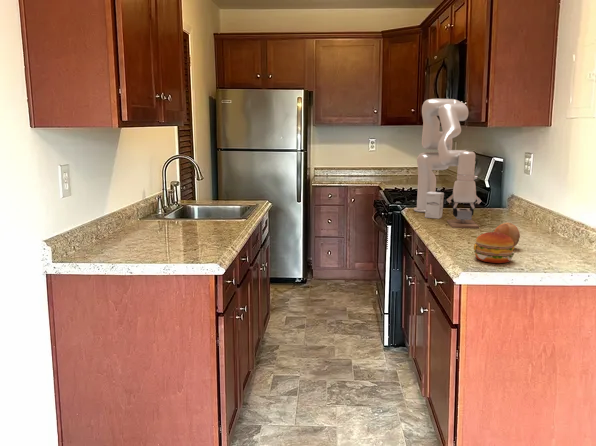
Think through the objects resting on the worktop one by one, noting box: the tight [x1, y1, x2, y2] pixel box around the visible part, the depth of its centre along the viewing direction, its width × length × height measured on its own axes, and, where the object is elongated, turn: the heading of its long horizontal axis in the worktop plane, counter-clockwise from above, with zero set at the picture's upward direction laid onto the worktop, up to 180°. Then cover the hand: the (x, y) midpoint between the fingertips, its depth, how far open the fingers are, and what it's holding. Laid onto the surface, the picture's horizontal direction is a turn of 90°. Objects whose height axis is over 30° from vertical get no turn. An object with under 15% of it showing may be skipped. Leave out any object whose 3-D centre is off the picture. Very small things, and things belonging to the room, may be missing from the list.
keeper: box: [446, 218, 480, 229], centre depth 258 cm, size 16×12×6 cm
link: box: [454, 207, 473, 220], centre depth 257 cm, size 8×6×4 cm
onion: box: [493, 222, 521, 247], centre depth 210 cm, size 10×10×10 cm
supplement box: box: [424, 191, 445, 220], centre depth 277 cm, size 7×7×13 cm
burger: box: [473, 231, 515, 264], centre depth 191 cm, size 13×14×10 cm
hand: (462, 216), depth 258 cm, fingers closed on link, 6 cm apart
